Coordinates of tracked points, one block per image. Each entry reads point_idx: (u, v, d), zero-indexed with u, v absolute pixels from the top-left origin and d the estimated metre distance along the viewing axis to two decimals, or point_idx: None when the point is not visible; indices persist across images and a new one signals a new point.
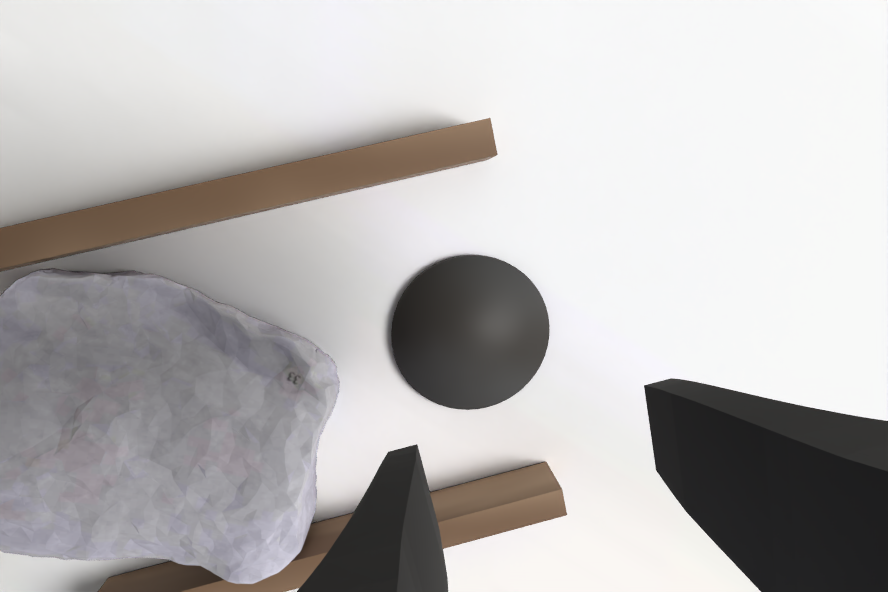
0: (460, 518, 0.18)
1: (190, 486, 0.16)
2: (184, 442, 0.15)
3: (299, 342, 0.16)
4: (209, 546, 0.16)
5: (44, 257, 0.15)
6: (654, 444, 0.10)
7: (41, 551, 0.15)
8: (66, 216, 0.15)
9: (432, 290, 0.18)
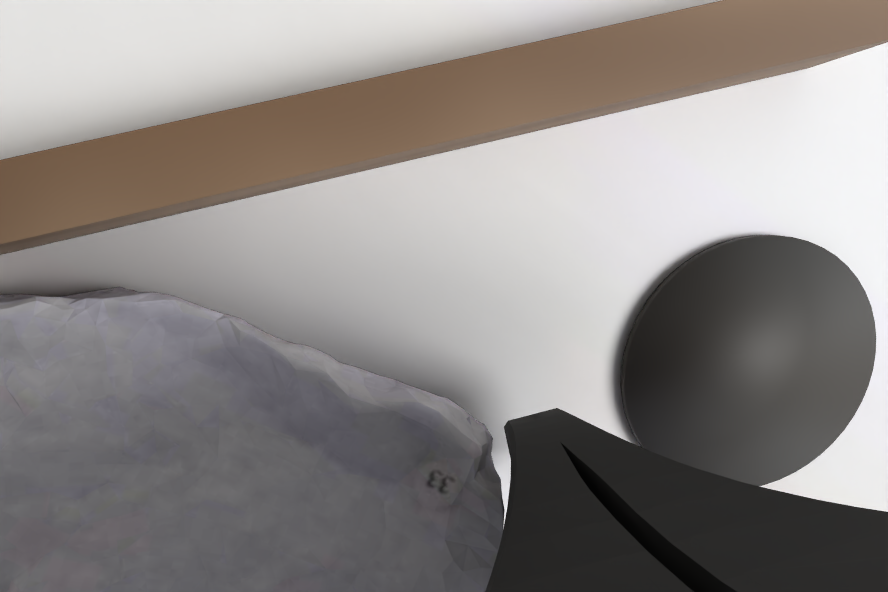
0: None
1: None
2: None
3: (447, 411, 0.08)
4: None
5: (35, 233, 0.07)
6: None
7: None
8: (79, 149, 0.07)
9: (699, 295, 0.11)
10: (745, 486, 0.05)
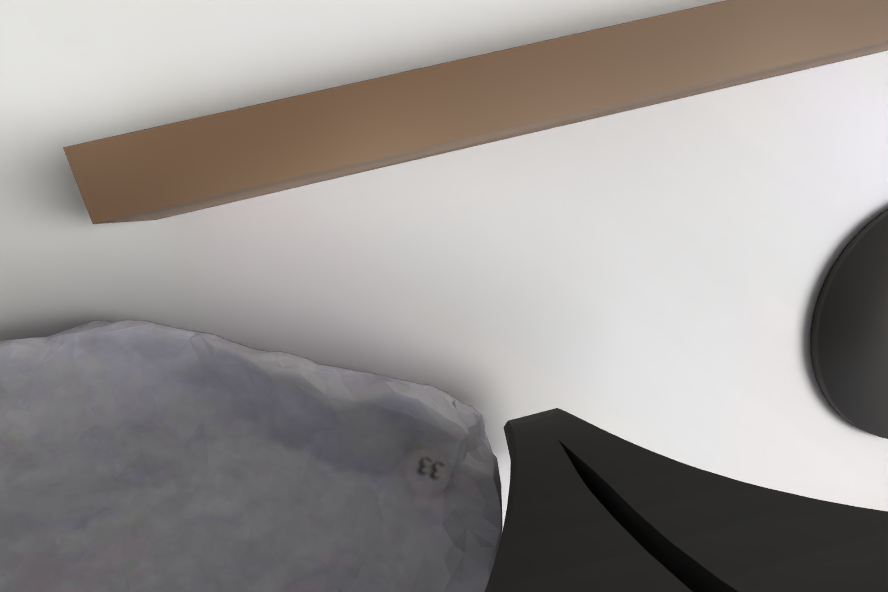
0: None
1: None
2: None
3: (427, 397, 0.08)
4: None
5: (337, 165, 0.08)
6: None
7: None
8: (389, 81, 0.07)
9: None
10: (746, 486, 0.05)
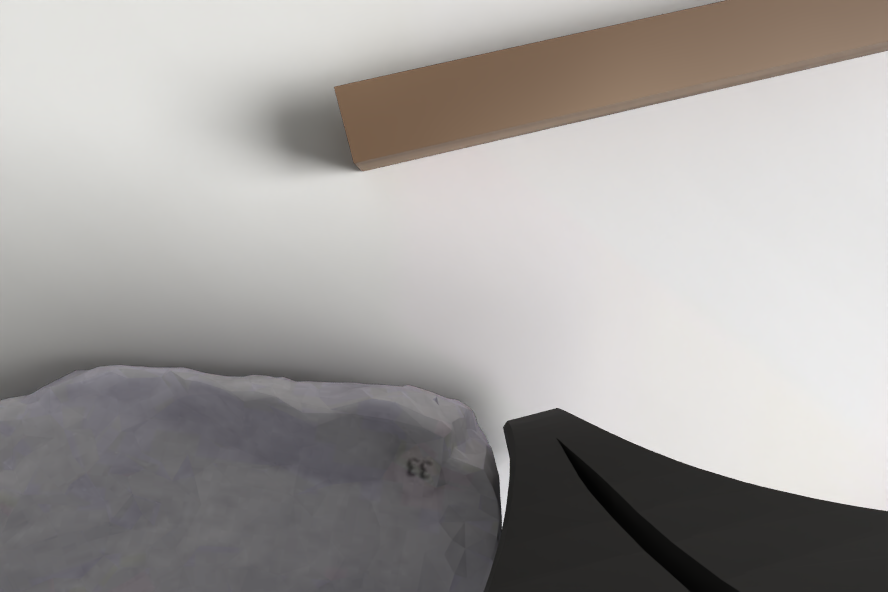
0: None
1: None
2: None
3: (405, 398, 0.08)
4: None
5: (585, 108, 0.08)
6: None
7: None
8: (642, 25, 0.08)
9: None
10: (746, 486, 0.05)
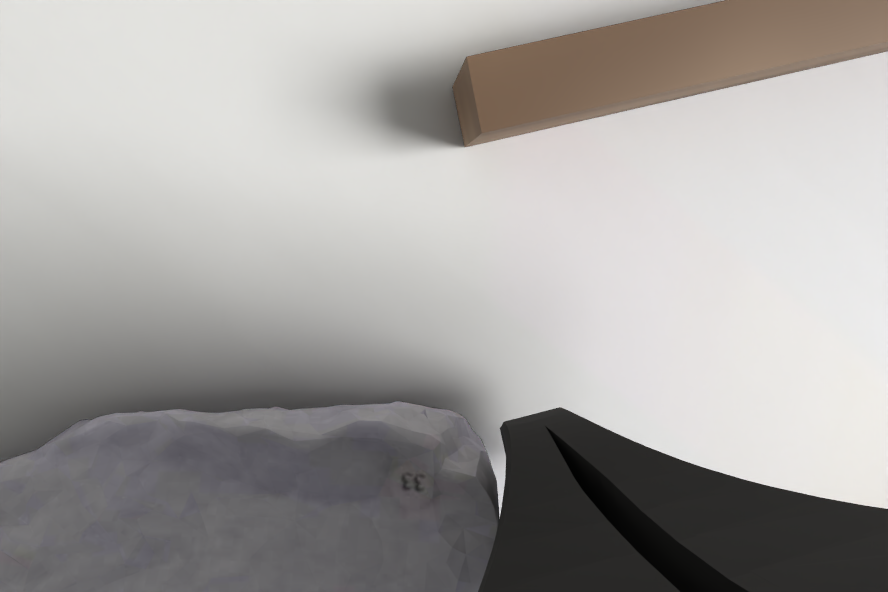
0: None
1: None
2: None
3: (392, 416, 0.08)
4: None
5: (706, 80, 0.08)
6: None
7: None
8: None
9: None
10: (750, 485, 0.05)
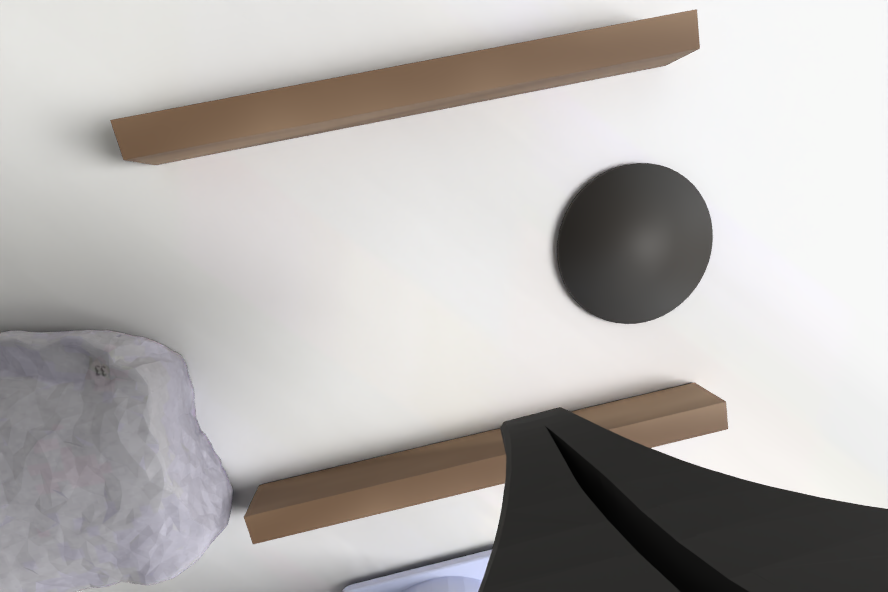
0: (625, 428, 0.18)
1: (59, 511, 0.15)
2: (27, 474, 0.15)
3: (89, 334, 0.15)
4: (111, 560, 0.16)
5: (251, 134, 0.15)
6: None
7: None
8: (277, 91, 0.15)
9: (603, 197, 0.18)
10: (750, 485, 0.05)
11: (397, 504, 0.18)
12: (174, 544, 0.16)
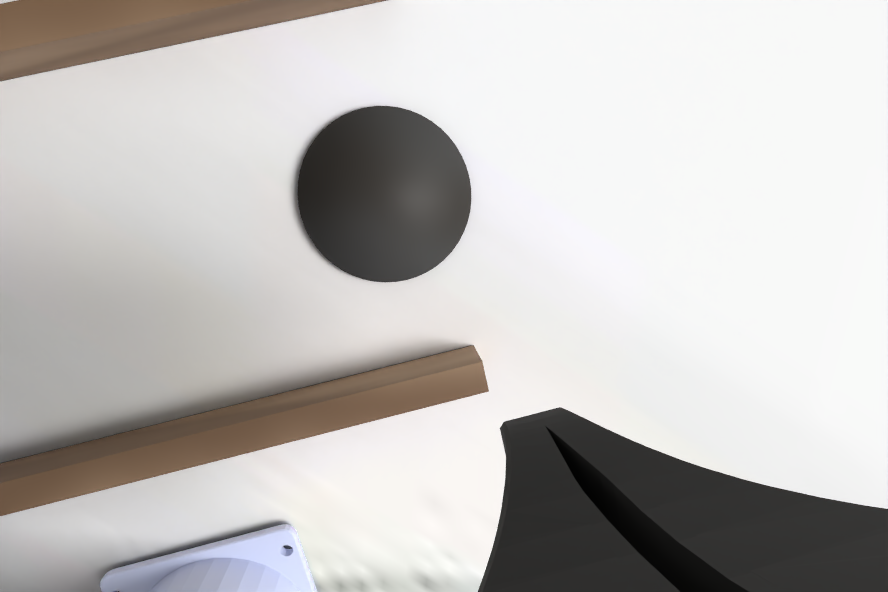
0: (371, 392, 0.17)
1: None
2: None
3: None
4: None
5: None
6: None
7: None
8: None
9: (341, 144, 0.17)
10: (750, 485, 0.05)
11: (123, 479, 0.17)
12: None
